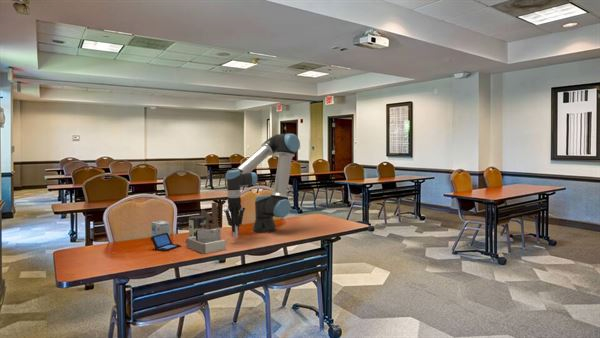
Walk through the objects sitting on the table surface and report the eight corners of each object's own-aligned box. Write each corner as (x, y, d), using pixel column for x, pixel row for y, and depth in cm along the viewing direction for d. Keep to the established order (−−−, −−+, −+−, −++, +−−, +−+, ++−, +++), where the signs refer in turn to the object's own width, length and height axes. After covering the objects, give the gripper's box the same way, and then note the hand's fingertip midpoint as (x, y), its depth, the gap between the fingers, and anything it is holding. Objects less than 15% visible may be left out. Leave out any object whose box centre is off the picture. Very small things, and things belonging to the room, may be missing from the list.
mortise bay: (208, 242, 225) (208, 234, 225) (225, 249, 210) (225, 240, 209) (186, 246, 216) (186, 238, 216) (202, 253, 201) (202, 244, 201)
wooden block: (201, 230, 261) (201, 203, 260) (216, 227, 268) (215, 202, 267) (204, 231, 258) (203, 204, 257) (218, 228, 265) (218, 202, 264)
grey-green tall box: (210, 238, 236) (209, 215, 235) (201, 242, 226) (200, 218, 225) (195, 237, 239) (194, 214, 238) (185, 241, 229) (185, 217, 228)
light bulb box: (151, 239, 236) (151, 221, 236) (161, 237, 241) (161, 220, 241) (160, 242, 229) (159, 223, 229) (170, 239, 234) (170, 222, 233)
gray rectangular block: (220, 245, 220) (220, 227, 219) (222, 247, 215) (222, 229, 214) (195, 247, 214) (195, 229, 213) (197, 250, 209) (196, 231, 208)
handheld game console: (165, 252, 206) (164, 238, 206) (150, 250, 211) (150, 236, 211) (182, 246, 218) (181, 233, 217) (167, 245, 222) (167, 232, 222)
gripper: (227, 198, 217) (229, 240, 218) (247, 196, 225) (248, 236, 226) (220, 197, 222) (222, 238, 224) (240, 195, 231) (241, 234, 232)
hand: (235, 237), depth 225 cm, fingers closed
